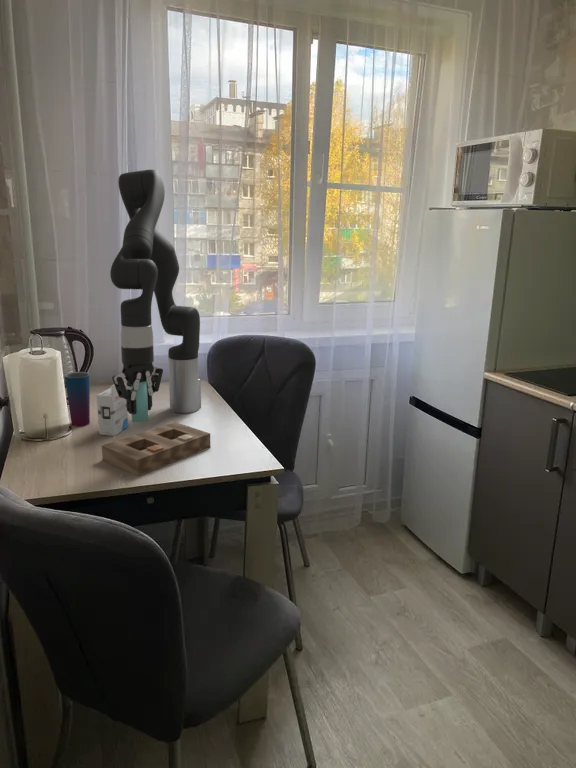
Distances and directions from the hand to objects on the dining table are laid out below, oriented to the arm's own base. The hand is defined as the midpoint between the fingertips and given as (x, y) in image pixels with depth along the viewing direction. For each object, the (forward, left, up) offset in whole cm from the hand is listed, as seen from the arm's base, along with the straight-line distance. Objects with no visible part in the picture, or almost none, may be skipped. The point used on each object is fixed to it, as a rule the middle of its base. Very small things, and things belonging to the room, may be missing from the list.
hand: (139, 411), depth 143 cm
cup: (-5, -35, -13) cm, 38 cm away
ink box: (-8, -23, -13) cm, 28 cm away
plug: (0, 0, -2) cm, 2 cm away
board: (-5, 0, -13) cm, 14 cm away
